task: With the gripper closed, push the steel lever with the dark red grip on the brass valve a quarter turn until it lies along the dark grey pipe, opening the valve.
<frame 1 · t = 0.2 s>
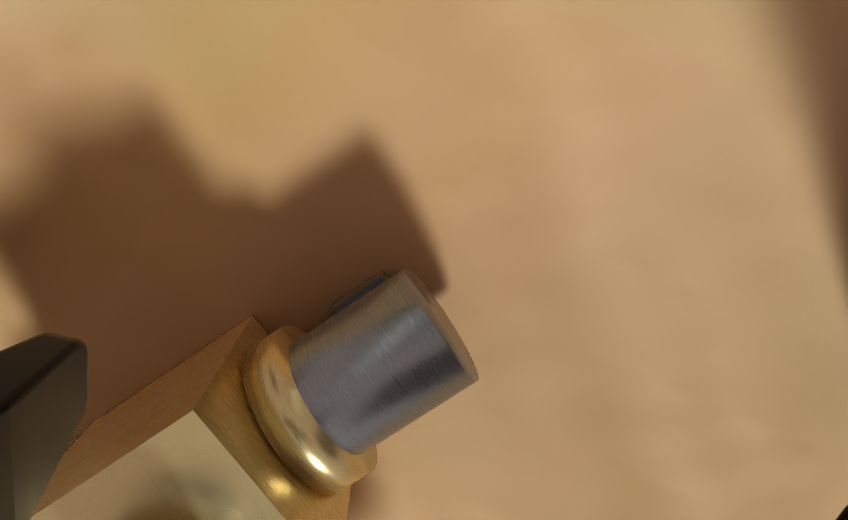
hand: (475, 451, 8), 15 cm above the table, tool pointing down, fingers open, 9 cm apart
valve body: (225, 434, 24), on the table
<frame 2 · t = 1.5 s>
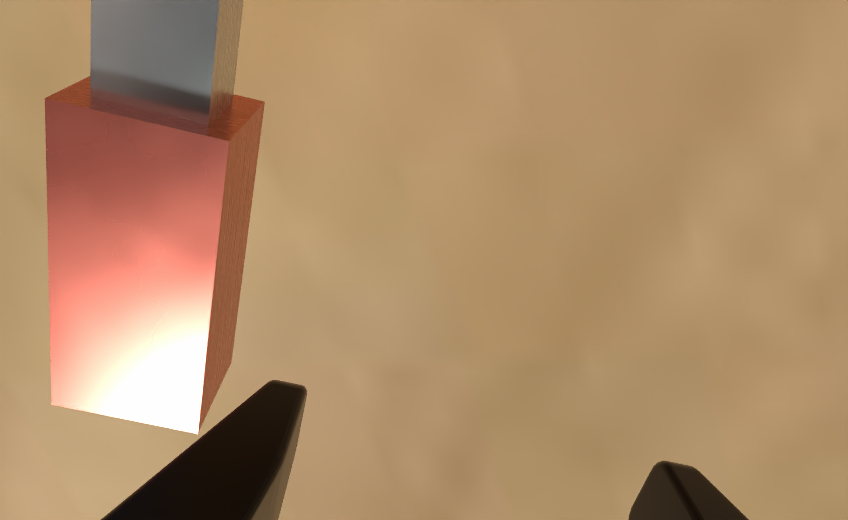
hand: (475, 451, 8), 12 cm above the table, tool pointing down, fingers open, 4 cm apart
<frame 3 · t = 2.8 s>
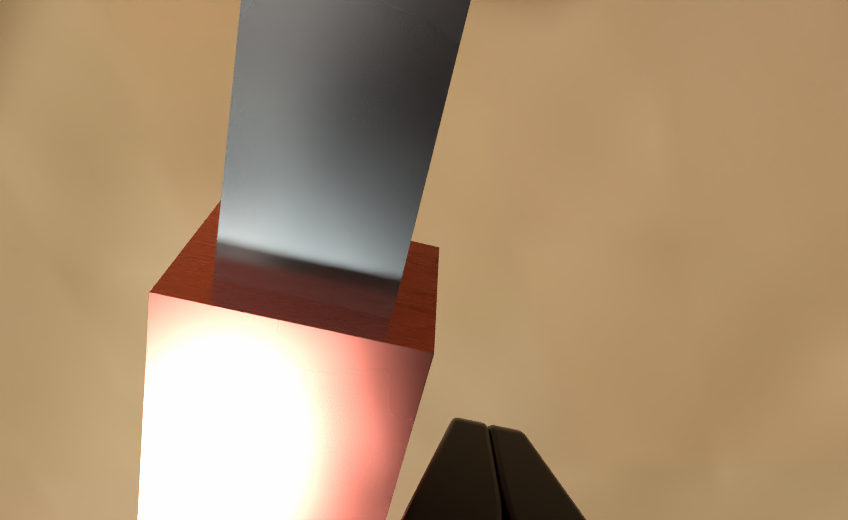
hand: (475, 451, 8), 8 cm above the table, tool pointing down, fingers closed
valve lever: (356, 35, 6), point 8 cm above the table, hinge at 0.0°, touching gripper
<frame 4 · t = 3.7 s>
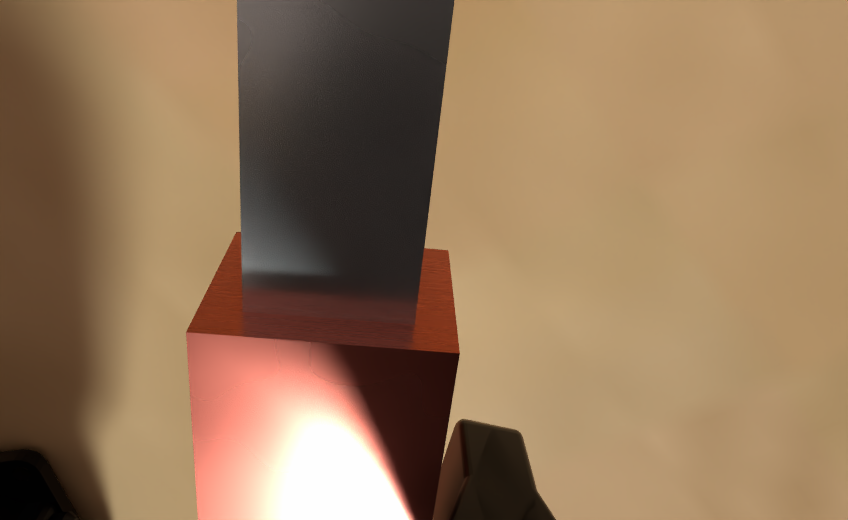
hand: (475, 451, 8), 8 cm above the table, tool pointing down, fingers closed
valve lever: (347, 65, 6), point 8 cm above the table, hinge at -15.3°, touching gripper
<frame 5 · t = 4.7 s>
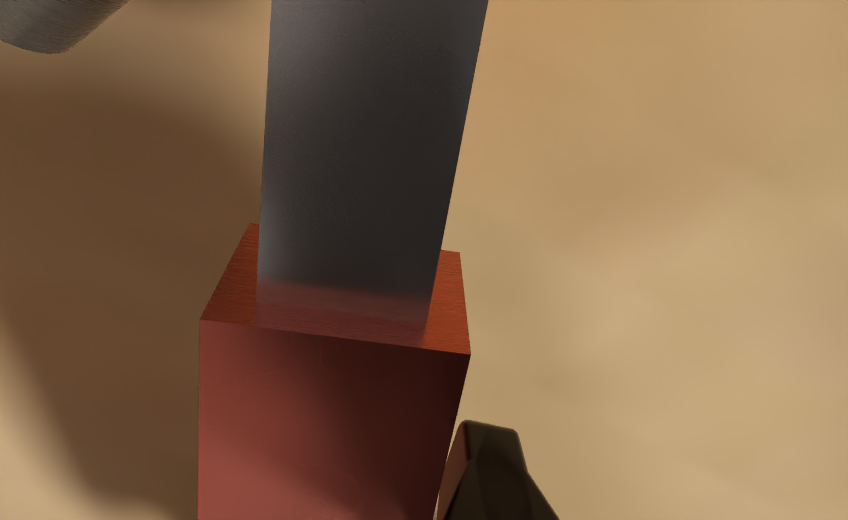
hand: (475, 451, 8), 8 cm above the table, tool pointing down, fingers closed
valve lever: (374, 62, 6), point 8 cm above the table, hinge at -43.3°, touching gripper
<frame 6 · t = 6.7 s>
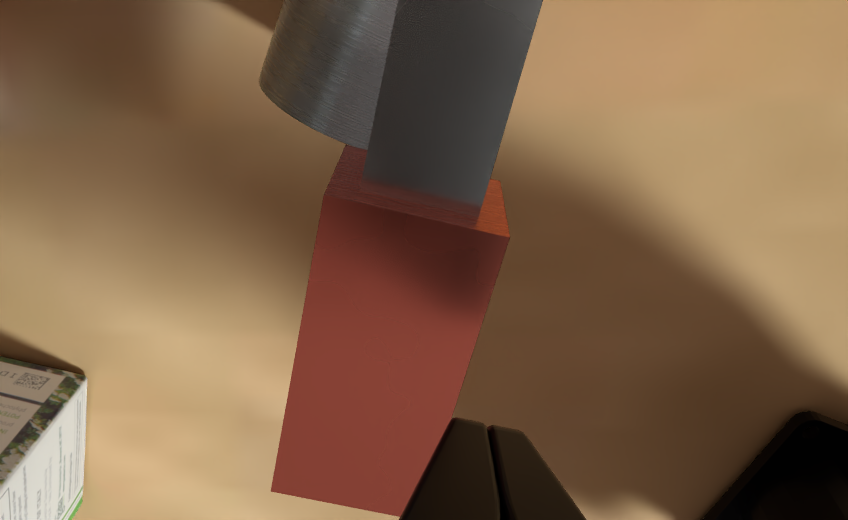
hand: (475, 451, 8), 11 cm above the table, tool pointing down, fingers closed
valve lever: (461, 26, 9), point 8 cm above the table, hinge at -79.9°
syrup box: (6, 412, 23), on the table
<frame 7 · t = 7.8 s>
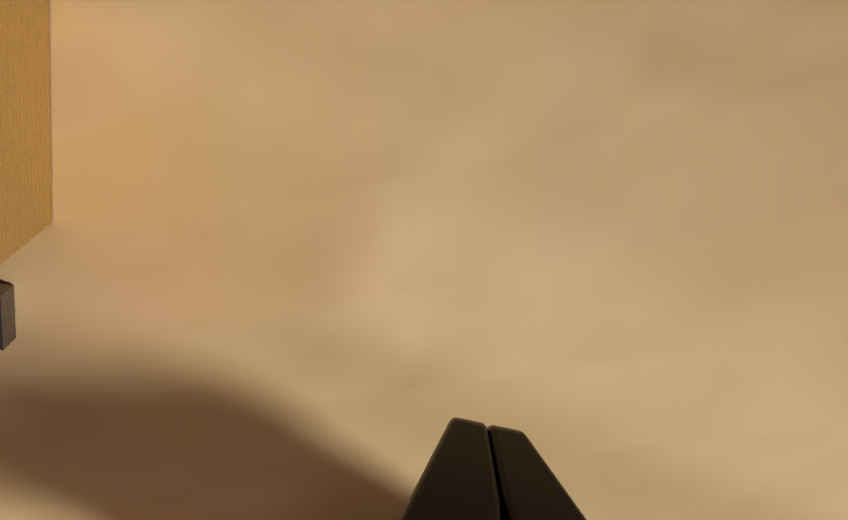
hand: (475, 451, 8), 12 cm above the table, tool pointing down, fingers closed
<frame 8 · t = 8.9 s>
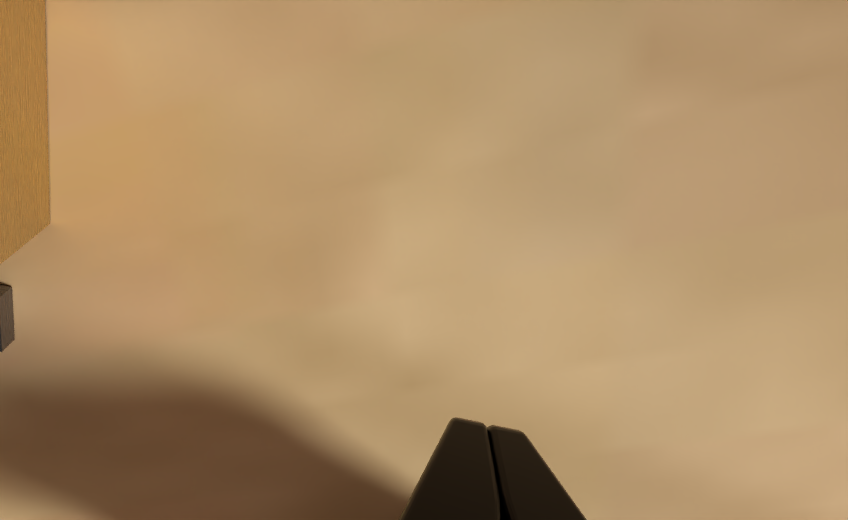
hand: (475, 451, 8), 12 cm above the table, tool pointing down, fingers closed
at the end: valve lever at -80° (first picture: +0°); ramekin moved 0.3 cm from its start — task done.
